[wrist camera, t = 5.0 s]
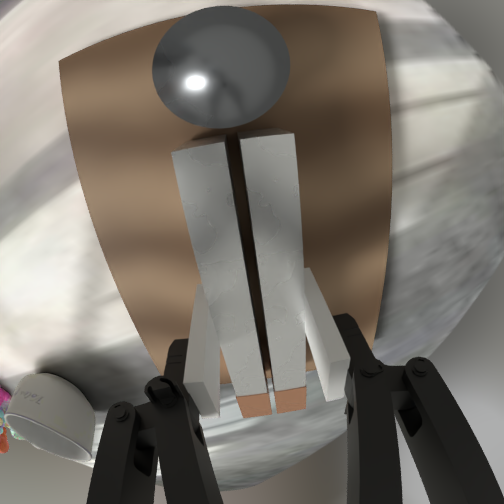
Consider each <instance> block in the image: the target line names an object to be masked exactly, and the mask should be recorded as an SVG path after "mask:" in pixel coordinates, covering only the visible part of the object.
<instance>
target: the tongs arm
mask: <svg viewBox="0 0 504 504" xmlns="http://www.w3.org/2000/svg"><path fill="white" fill-rule="evenodd" d="M237 133H238V140H239V147H240V154H241V161H242V168H243V175H244V182H245V189H246V196H247V203H248V210H249V217H250V224H251V231H252V238H253V245H254V252H255V259H256V266H257V273H258V280H259V287H260V294H261V301H262V308H263V316H264V323H265V330H266V337H267V344H268V348H267V349H268V356H269V363H270V370H271V377H272V383H273V389H274V396H275V402H276V408H277V414H278V413H284V412H290V411H296V410H301V409H306V333H305V299H304V292H305V286H304V260H303V240H302V223H301V208H300V194H299V182H298V170H297V159H296V148H295V138H294V133H292V132H289V131H286V130H283V129H280V128H269V129H260V130H252V131H244V132H237Z"/></svg>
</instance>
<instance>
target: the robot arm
mask: <svg viewBox="0 0 504 504" xmlns="http://www.w3.org/2000/svg"><path fill="white" fill-rule="evenodd" d="M304 286H305V292H304V299H305V333H306V336H307V339H308V342H309V346H310V349H311V352H312V355H313V359H314V362H315V365H316V368H317V372H318V375H319V378H320V382H321V385H322V388H323V392H324V395H325V399H326V402H327V401H332V400H336V399H340V398H343V397H344V392H345V394H346V396H347V399H348V400H347V404H346V409H345V414H347V438H348V481H347V482H348V483H347V504H403V503H402V482H401V468H400V458H399V447H398V439H397V431H396V423H395V417H396V419H397V421H398V424H399V426H400V428H401V431H402V433H403V435H404V438H405V440H406V442H407V445H408V447H409V449H410V452H411V454H412V457H413V459H414V462H415V464H416V467H417V469H418V471H419V474H420V477H421V479H422V482H423V484H424V487H425V490H426V492H427V495H428V498H429V501H430V504H504V497H503V494H502V492H501V489H500V487H499V485H498V483H497V480H496V478H495V476H494V473H493V471H492V469H491V467H490V465H489V463H488V460H487V458H486V456H485V454H484V452H483V450H482V448H481V446H480V444H479V442H478V440H477V438H476V437H475V435H474V433H473V431H472V429H471V427H470V425H469V423H468V422H467V420H466V418H465V416H464V415H463V413H462V411H461V409H460V407H459V406H458V404H457V402H456V400H455V399H454V397H453V396H452V394H451V392H450V390H449V389H448V387H447V385H446V384H445V382H444V380H443V379H442V377H441V376H440V374H439V373H438V371H437V369H436V368H435V366H434V365H433V363H432V362H431V361H430V360H428V359H426V358H423V357H415V358H412V359H411V360H409V361H408V362H407V364H406V366H388V365H384V364H383V363H382V362H381V361H380V360H377V359H376V358H375V357H374V355H373V353H372V351H371V349H370V347H369V345H368V343H367V341H366V339H365V337H364V336H363V334H362V332H361V330H360V328H359V326H358V324H357V322H356V320H355V319H354V318H353V317H352V316H350V315H349V314H348V313H344V314H339V315H334V316H332V315H331V313H330V310H329V308H328V306H327V304H326V302H325V300H324V297H323V295H322V293H321V291H320V289H319V287H318V284H317V282H316V280H315V278H314V276H313V274H312V272H311V270H310V268H304ZM144 392H145V394H146V395H147V397H148V398H149V400H150V401H151V402H148V403H146V404H142V405H139V406H135V407H134V406H133V405H131V404H130V403H128V402H118V403H116V404H114V405H113V406H112V407H111V408H110V409H109V411H108V413H107V417H106V420H105V424H104V428H103V431H102V435H101V439H100V443H99V447H98V451H97V455H96V459H95V464H94V468H93V473H92V478H91V483H90V487H89V493H88V498H87V504H153V503H154V491H155V482H156V473H157V464H158V456H159V462H160V469H161V474H162V480H163V486H164V491H165V496H166V500H167V504H223V500H222V497H221V494H220V491H219V488H218V484H217V481H216V478H215V474H214V471H213V468H212V464H211V461H210V457H209V453H208V450H207V446H206V442H205V438H204V434H203V430H202V427H201V425H200V423H199V413H200V415H201V417H202V419H205V418H220V343H219V340H218V336H217V333H216V330H215V326H214V323H213V319H212V316H211V312H210V309H209V306H208V303H207V299H206V296H205V292H204V289H203V285H202V284H197V288H196V294H195V301H194V307H193V314H192V320H191V327H190V334H189V338H185V339H174V341H173V342H172V344H171V345H170V347H169V349H168V354H167V359H166V365H165V370H164V375H163V376H158V377H155V378H153V379H152V380H150V381H149V382H148V383H147V385H146V386H145V391H144ZM394 415H395V417H394Z"/></svg>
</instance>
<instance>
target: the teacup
mask: <svg viewBox="0 0 504 504" xmlns="http://www.w3.org/2000/svg"><path fill="white" fill-rule="evenodd" d="M4 419H5V421H6V423H7V424H8V425H9V426H10V427H11V428H12V429H13V430H14V431H15V432H16V433H17V434H19V435H20V436H21V437H23V438H24V439H25V440H27V441H29V442H30V443H32V445H33V446H34V447H36V448H38V449H40V450H41V449H43V450H45V451H47V452H49V453H52V454H54V455H57V456H59V457H62V458H66V459H70V460H74V461H82V462H85V461H90V460H91V458H92V454H91V451H92V445H93V438H94V431H95V413H94V410H93V408H92V406H91V404H90V403H89V402H88V401H87V399H86V398H85V396H84V394H83V393H82V392H81V391H80V390H79V389H78V388H77V387H76V386H74V385H73V384H72V383H70V382H69V381H67V380H65V379H63V378H61V377H59V376H56V375H53V374H49V373H39V374H30V375H27V376H25V377H24V378H23V379H22V380H21V381H20V382H19V384H18V385H17V387H16V389H15V391H14V394H13V396H12V398H11V401H10V403H9V406H8V409H7V411H6V412H5V414H4Z"/></svg>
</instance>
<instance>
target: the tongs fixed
mask: <svg viewBox="0 0 504 504" xmlns="http://www.w3.org/2000/svg"><path fill="white" fill-rule="evenodd" d="M289 74H290V56H289V51H288V48H287V45H286V43H285V41H284V39H283V37H282V35H281V34H280V32H279V31H278V30H277V29H276V28H275V27H274V26H273V25H272V24H271V23H270V22H269V21H268V20H266V19H265V18H264V17H262V16H260V15H258V14H257V13H255V12H252V11H250V10H247V9H243V8H239V7H233V6H215V7H209V8H204V9H201V10H198V11H195V12H193V13H191V14H189V15H187V16H185V17H183V18H182V19H180V20H179V21H177V22H176V23H175V24H174V25H173V26H172V27H171V28H170V29H169V30H168V31H167V32H166V33H165V34H164V36H163V37H162V39H161V40H160V42H159V44H158V46H157V48H156V51H155V54H154V58H153V63H152V77H153V82H154V86H155V89H156V91H157V94H158V96H159V97H160V99H161V101H162V102H163V103H164V105H165V106H166V107H167V108H168V109H169V110H170V111H171V112H172V113H173V114H175V115H176V116H178V117H179V118H181V119H183V120H184V121H186V122H189V123H191V124H194V125H197V126H201V127H206V128H220V129H221V128H231V127H236V126H240V125H243V124H246V123H248V122H251V121H253V120H255V119H257V118H258V117H260V116H261V115H263V114H264V113H266V112H267V111H268V110H269V109H270V108H271V107H272V106H273V105H274V104H275V103H276V102H277V101H278V99H279V98H280V97H281V95H282V93H283V91H284V90H285V87H286V85H287V82H288V79H289ZM171 154H172V159H173V164H174V169H175V174H176V179H177V183H178V188H179V192H180V197H181V201H182V206H183V210H184V214H185V218H186V223H187V227H188V231H189V235H190V239H191V243H192V247H193V251H194V255H195V259H196V263H197V266H198V270H199V274H200V278H201V281H202V285H203V289H204V292H205V296H206V299H207V303H208V306H209V309H210V312H211V316H212V319H213V323H214V326H215V330H216V333H217V336H218V340H219V343H220V347H221V350H222V353H223V356H224V359H225V362H226V366H227V369H228V372H229V375H230V378H231V381H232V384H233V387H234V390H235V393H236V399H237V401H238V404H239V407H240V410H241V413H242V416H243V418H248V417H256V416H264V415H271V414H272V410H271V403H270V396H269V389H268V382H267V375H266V369H265V363H264V357H263V352H262V349H261V344H260V338H259V332H258V327H257V321H256V315H255V309H254V303H253V297H252V291H251V285H250V280H249V274H248V268H247V262H246V256H245V250H244V244H243V238H242V232H241V225H240V219H239V213H238V207H237V201H236V195H235V189H234V183H233V176H232V170H231V164H230V158H229V151H228V145H227V139H226V134H224V135H218V136H212V137H207V138H201V139H196V140H191V141H186V142H185V143H184V144H182V145H181V146H179V147H178V148H176V149H175V150H173V151H172V152H171Z"/></svg>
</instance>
